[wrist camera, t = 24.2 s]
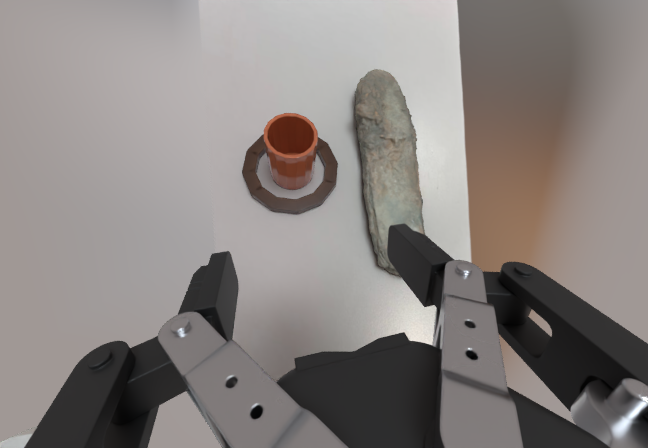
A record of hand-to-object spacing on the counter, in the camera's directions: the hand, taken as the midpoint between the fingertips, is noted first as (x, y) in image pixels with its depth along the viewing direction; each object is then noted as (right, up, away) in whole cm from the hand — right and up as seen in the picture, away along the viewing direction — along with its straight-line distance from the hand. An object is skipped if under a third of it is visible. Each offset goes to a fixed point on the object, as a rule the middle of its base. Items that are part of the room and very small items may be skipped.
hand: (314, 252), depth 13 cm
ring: (-4, +10, +26) cm, 28 cm away
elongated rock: (+10, +11, +28) cm, 32 cm away
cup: (-4, +10, +26) cm, 28 cm away
